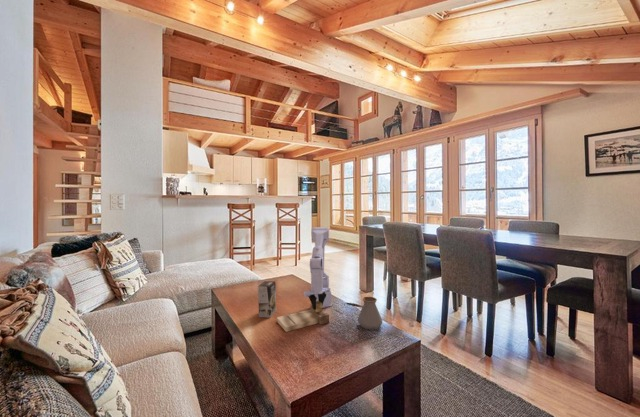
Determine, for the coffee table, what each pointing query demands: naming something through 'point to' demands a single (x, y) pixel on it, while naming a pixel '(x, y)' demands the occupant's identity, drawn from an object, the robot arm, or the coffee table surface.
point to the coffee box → (267, 298)
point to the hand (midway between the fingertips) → (317, 308)
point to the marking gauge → (320, 313)
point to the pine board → (298, 320)
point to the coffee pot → (368, 314)
